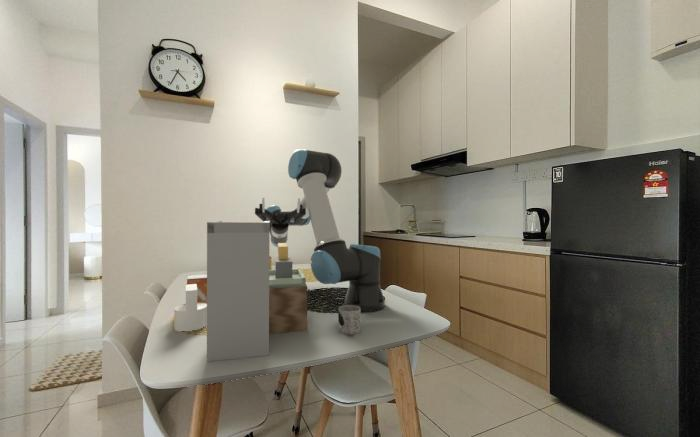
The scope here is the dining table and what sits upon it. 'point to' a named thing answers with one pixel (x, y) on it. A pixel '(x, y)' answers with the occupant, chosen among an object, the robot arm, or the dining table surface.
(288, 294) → the riser
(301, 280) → the tray
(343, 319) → the mug
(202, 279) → the small box
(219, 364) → the dining table surface
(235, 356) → the grey tall block
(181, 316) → the base with upright slab
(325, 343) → the dining table surface
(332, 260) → the robot arm
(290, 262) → the yellow grey boxy piece
